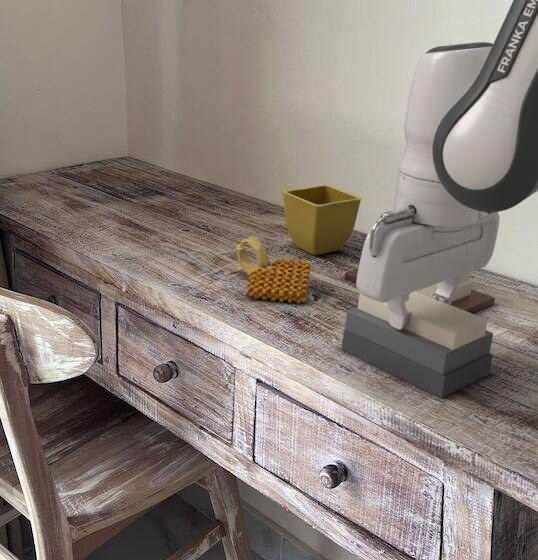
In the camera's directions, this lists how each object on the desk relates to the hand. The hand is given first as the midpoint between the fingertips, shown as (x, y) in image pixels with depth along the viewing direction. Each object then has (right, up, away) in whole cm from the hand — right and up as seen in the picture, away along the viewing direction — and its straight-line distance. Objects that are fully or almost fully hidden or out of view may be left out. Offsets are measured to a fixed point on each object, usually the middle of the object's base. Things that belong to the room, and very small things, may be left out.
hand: (419, 318), depth 91 cm
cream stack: (+5, +3, +22) cm, 23 cm away
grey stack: (0, -5, +2) cm, 6 cm away
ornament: (-15, +3, +22) cm, 27 cm away
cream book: (0, 0, 0) cm, 0 cm away
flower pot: (-7, +9, +37) cm, 39 cm away
